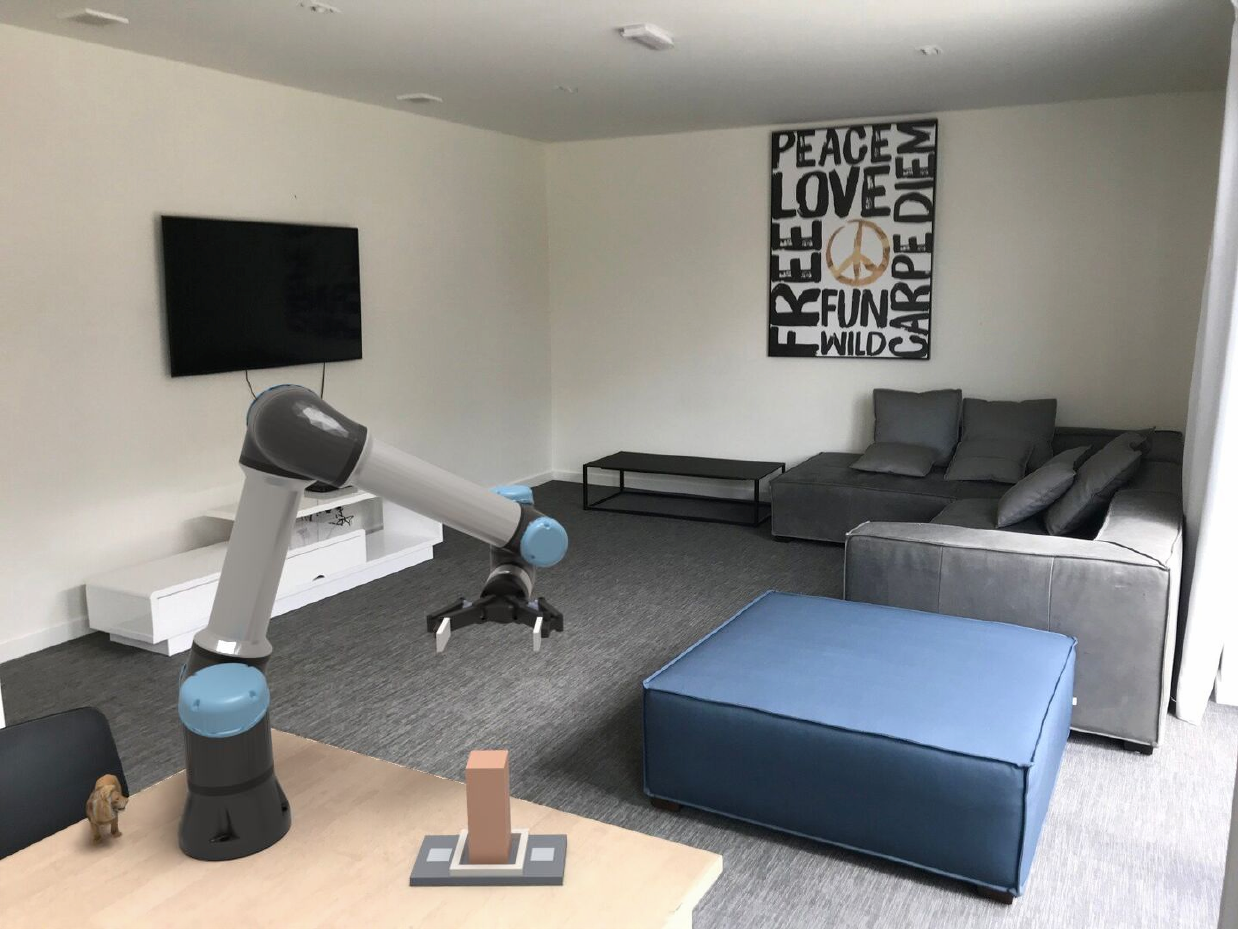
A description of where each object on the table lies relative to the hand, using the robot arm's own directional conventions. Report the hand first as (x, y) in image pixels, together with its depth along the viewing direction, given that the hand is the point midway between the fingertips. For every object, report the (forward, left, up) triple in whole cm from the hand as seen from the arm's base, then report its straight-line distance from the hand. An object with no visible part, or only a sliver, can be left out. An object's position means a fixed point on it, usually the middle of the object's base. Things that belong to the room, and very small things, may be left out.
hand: (487, 642), depth 138 cm
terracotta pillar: (+6, -7, -27) cm, 28 cm away
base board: (+6, -7, -28) cm, 30 cm away
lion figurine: (-46, -32, -28) cm, 63 cm away
